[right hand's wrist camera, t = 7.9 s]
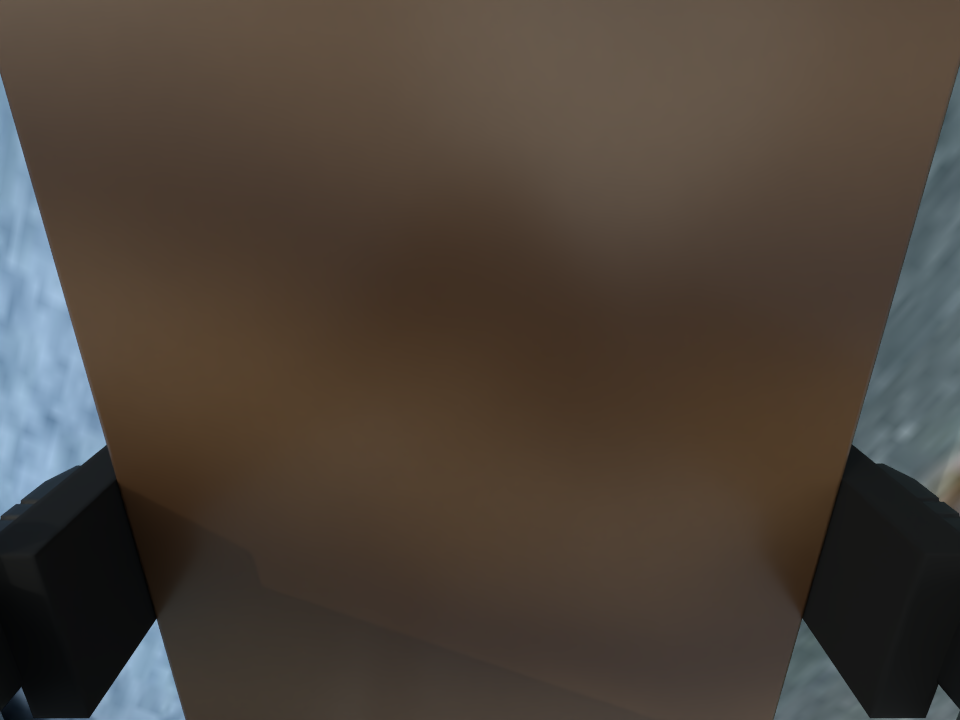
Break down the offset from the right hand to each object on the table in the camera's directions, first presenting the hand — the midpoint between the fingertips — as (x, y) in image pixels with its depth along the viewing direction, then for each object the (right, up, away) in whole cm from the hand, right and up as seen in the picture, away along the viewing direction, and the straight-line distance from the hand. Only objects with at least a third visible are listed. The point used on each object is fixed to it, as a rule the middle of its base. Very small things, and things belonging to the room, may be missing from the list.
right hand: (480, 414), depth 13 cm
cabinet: (0, +6, +1) cm, 6 cm away
